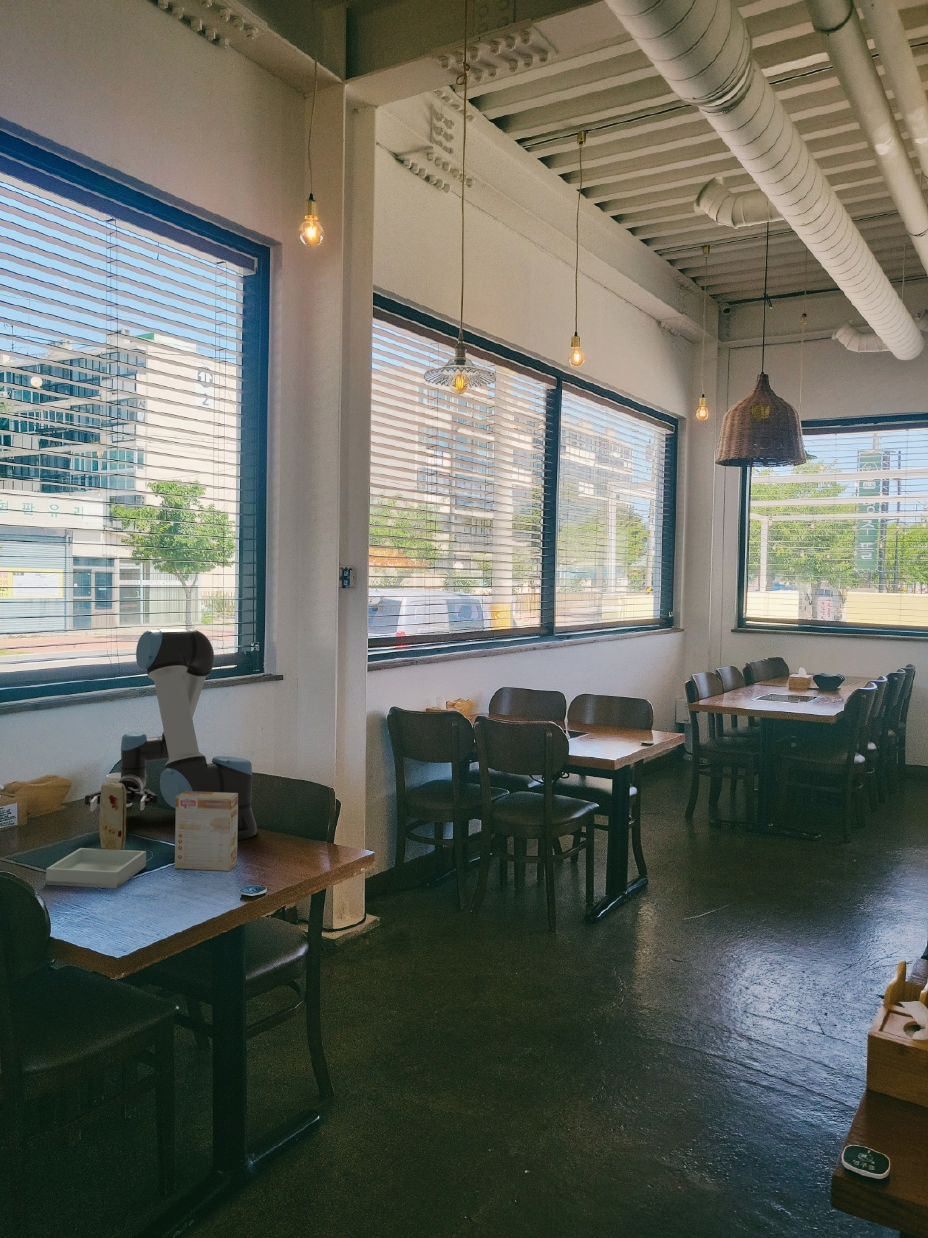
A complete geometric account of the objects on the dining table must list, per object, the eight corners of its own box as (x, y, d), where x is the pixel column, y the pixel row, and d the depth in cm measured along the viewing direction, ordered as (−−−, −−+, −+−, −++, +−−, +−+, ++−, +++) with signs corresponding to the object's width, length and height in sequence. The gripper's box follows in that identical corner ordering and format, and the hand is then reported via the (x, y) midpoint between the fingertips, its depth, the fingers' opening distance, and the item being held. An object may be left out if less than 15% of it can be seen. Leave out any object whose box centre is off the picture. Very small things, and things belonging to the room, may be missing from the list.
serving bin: (145, 866, 249) (146, 851, 249) (116, 888, 231) (116, 872, 231) (80, 862, 250) (80, 848, 250) (45, 884, 232) (46, 868, 232)
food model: (93, 850, 261) (94, 779, 260) (118, 847, 265) (119, 777, 264) (105, 859, 253) (106, 786, 252) (130, 855, 257) (131, 783, 256)
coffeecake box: (237, 863, 253) (239, 792, 253) (229, 872, 246) (230, 798, 245) (183, 861, 254) (184, 790, 253) (173, 869, 247) (175, 796, 246)
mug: (138, 810, 306) (138, 778, 306) (111, 812, 302) (112, 781, 301) (128, 802, 316) (129, 771, 316) (103, 804, 312) (103, 774, 311)
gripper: (170, 800, 291) (162, 818, 270) (85, 802, 286) (70, 820, 265) (170, 776, 290) (162, 792, 269) (85, 777, 285) (70, 793, 265)
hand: (116, 806), depth 267 cm, fingers open, 13 cm apart
